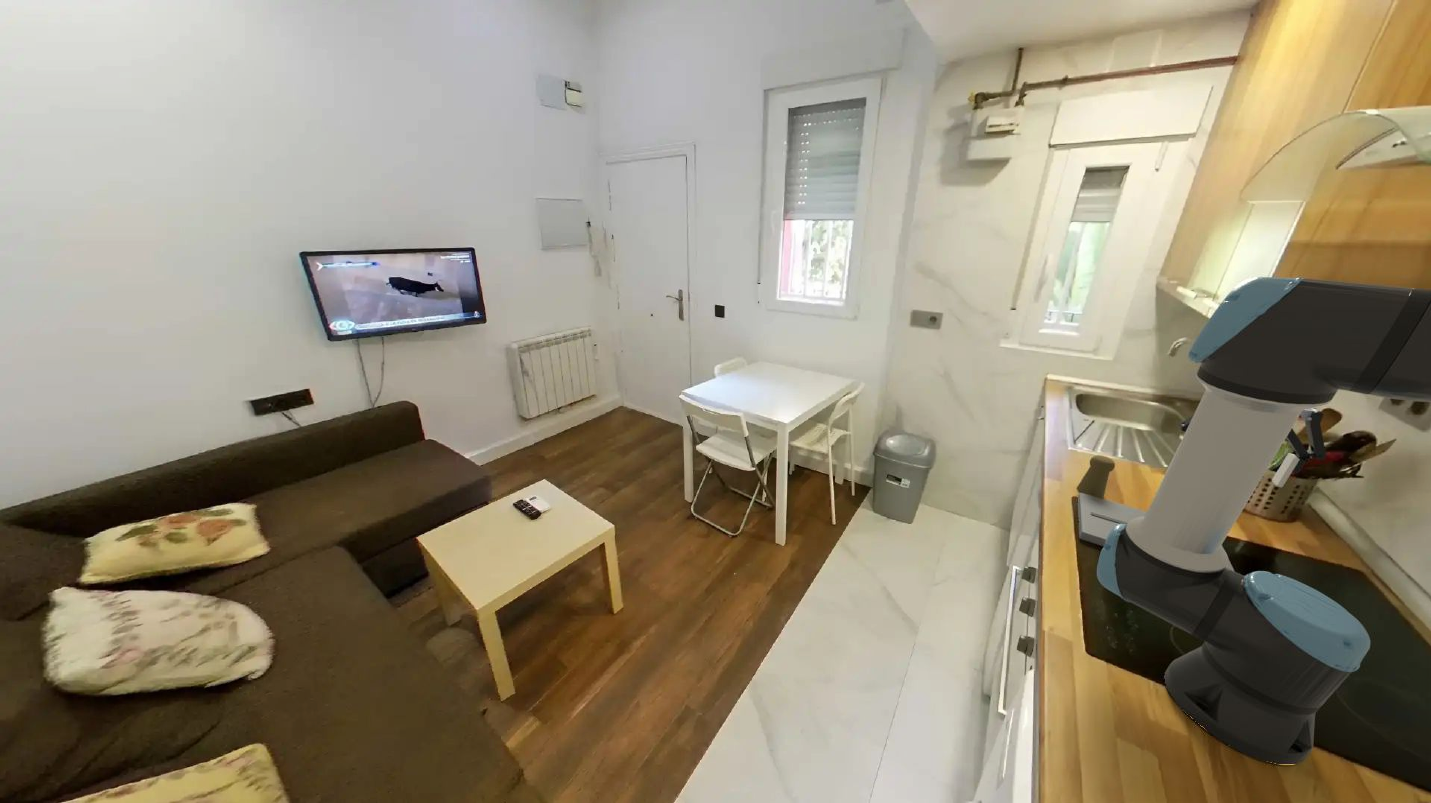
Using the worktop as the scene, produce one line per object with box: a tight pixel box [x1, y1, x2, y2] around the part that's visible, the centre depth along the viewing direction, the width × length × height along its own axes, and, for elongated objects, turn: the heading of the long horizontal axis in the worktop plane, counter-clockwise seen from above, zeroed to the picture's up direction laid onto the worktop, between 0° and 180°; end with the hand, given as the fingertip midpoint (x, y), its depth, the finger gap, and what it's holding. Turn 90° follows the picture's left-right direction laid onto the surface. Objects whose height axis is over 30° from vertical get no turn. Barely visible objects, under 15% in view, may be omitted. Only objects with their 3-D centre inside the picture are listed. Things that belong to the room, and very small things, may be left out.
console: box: [1077, 492, 1236, 572], centre depth 106 cm, size 20×26×2 cm
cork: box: [1076, 455, 1116, 499], centre depth 121 cm, size 6×6×11 cm
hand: (1229, 472), depth 94 cm, fingers open, 13 cm apart
